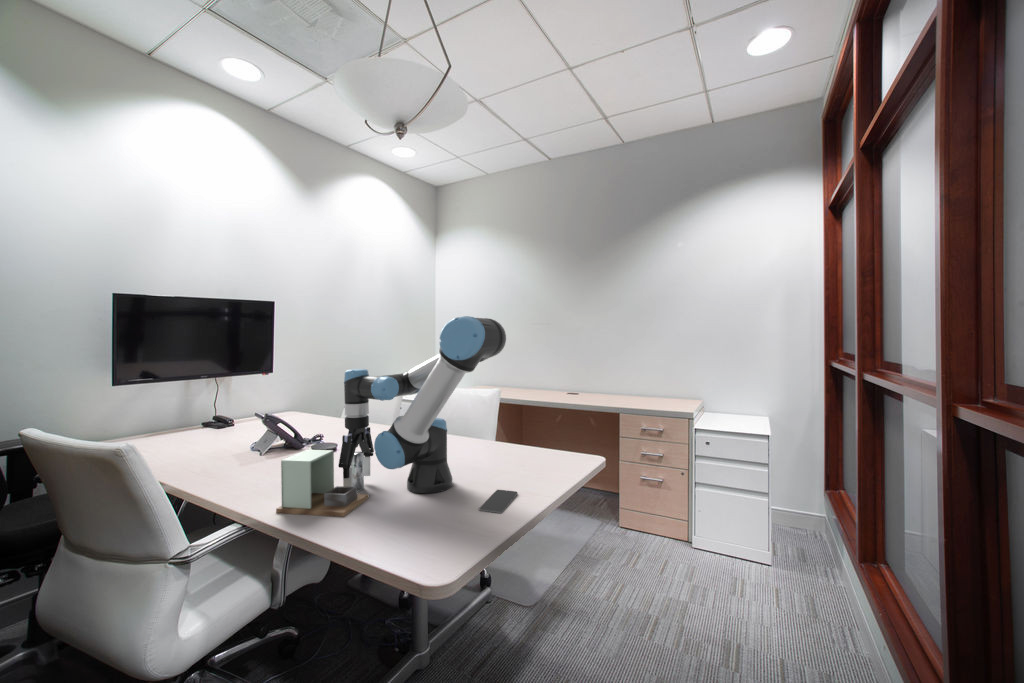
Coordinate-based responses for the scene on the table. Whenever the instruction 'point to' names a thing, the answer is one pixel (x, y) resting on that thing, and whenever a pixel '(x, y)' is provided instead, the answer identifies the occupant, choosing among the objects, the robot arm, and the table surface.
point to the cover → (306, 477)
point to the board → (330, 503)
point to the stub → (358, 470)
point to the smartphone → (498, 501)
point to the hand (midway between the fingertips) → (357, 481)
